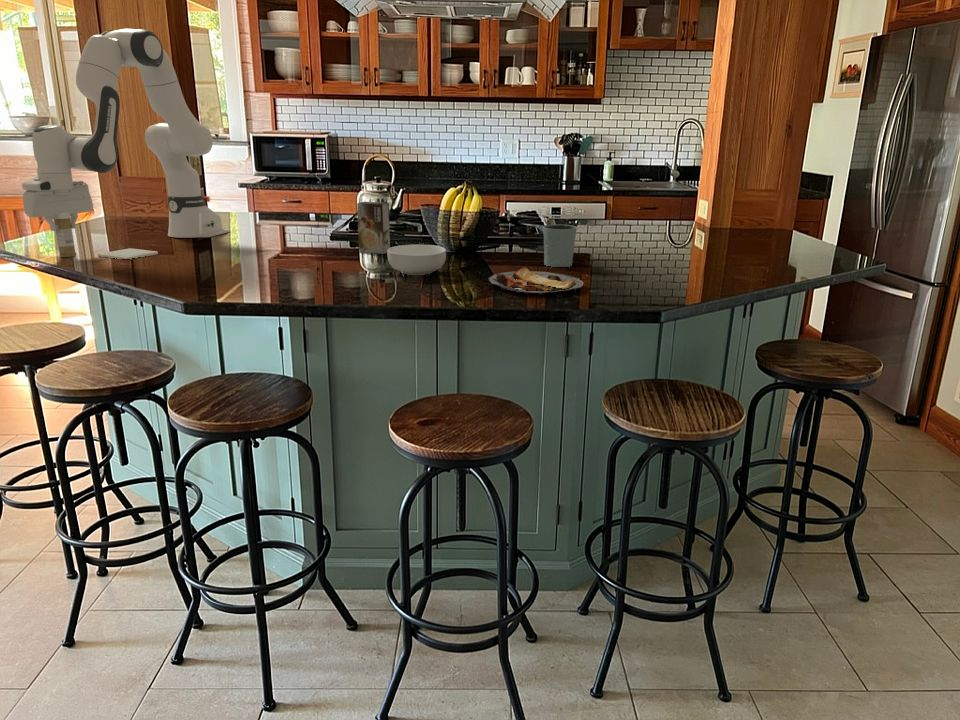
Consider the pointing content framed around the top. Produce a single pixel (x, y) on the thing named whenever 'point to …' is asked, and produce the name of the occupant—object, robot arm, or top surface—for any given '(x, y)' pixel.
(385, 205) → the coffee box
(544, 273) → the food plate
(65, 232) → the sprinkles bottle
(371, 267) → the top surface
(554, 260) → the grey tapered cup
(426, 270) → the cereal bowl
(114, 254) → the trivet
